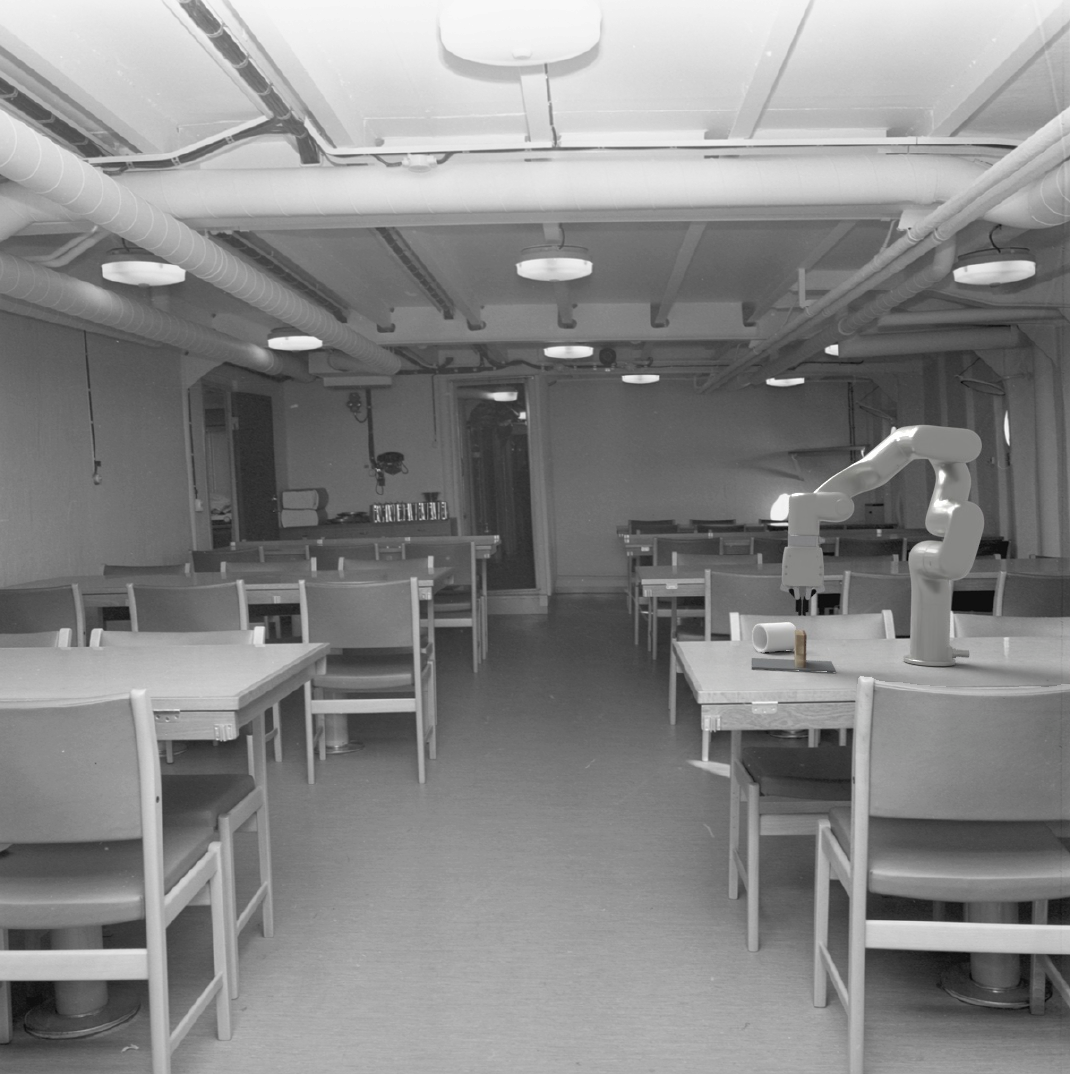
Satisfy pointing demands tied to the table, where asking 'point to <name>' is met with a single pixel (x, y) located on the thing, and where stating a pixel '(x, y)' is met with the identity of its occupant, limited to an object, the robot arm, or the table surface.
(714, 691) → the table surface
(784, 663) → the mat
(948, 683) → the table surface
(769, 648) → the mug
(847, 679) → the table surface
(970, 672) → the table surface
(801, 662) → the tile
